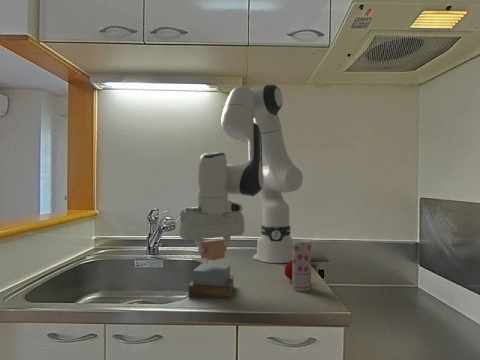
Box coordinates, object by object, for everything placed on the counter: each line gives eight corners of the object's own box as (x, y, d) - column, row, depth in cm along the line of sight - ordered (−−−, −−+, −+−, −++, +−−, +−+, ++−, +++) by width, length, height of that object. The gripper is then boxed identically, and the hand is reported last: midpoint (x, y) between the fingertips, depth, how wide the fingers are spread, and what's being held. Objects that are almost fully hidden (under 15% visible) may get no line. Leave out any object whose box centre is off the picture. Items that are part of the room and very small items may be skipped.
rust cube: (212, 255, 121) (212, 239, 121) (224, 257, 118) (224, 240, 118) (200, 258, 117) (201, 241, 117) (213, 260, 114) (213, 243, 114)
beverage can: (288, 287, 124) (289, 239, 123) (304, 285, 126) (304, 238, 126) (298, 292, 118) (299, 243, 118) (314, 290, 121) (314, 241, 120)
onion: (288, 284, 127) (288, 259, 127) (281, 279, 132) (281, 256, 132) (304, 283, 128) (305, 258, 128) (297, 278, 134) (297, 255, 134)
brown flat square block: (195, 287, 125) (195, 274, 125) (233, 288, 124) (233, 275, 124) (188, 299, 113) (188, 285, 113) (230, 300, 112) (230, 286, 112)
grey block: (201, 276, 123) (202, 263, 123) (229, 278, 121) (230, 265, 121) (192, 284, 114) (192, 270, 114) (222, 286, 113) (222, 272, 113)
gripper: (184, 208, 109) (184, 258, 110) (247, 205, 120) (246, 250, 120) (176, 206, 115) (176, 254, 115) (236, 204, 125) (236, 247, 126)
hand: (212, 252), depth 118 cm, fingers closed on rust cube, 6 cm apart
